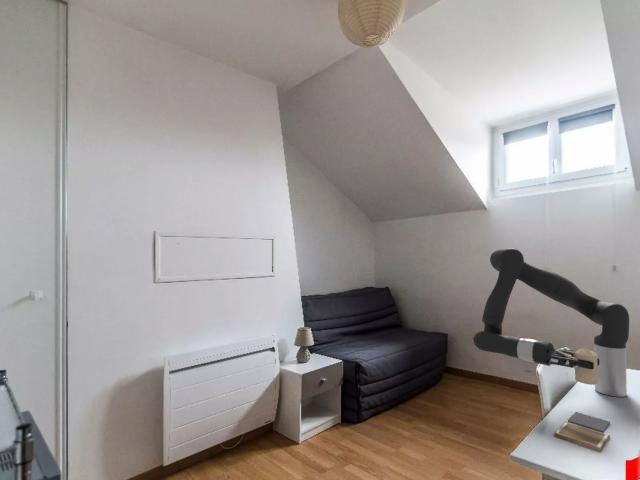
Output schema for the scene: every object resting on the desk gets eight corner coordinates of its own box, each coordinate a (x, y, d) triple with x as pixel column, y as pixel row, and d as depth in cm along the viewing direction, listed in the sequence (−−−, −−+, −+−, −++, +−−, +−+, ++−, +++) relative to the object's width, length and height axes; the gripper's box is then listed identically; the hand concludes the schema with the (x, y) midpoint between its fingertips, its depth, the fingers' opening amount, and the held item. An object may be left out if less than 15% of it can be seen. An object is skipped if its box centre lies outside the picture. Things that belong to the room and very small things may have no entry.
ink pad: (575, 413, 115) (575, 411, 115) (609, 423, 109) (609, 421, 109) (567, 422, 109) (567, 420, 109) (602, 433, 103) (602, 430, 103)
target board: (565, 424, 108) (565, 420, 108) (609, 438, 100) (609, 434, 100) (554, 436, 100) (554, 432, 100) (600, 452, 93) (600, 448, 93)
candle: (601, 385, 108) (601, 352, 108) (580, 383, 109) (580, 350, 109) (591, 379, 113) (591, 347, 113) (571, 377, 114) (572, 346, 115)
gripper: (527, 343, 118) (590, 355, 105) (542, 337, 127) (602, 347, 114) (526, 366, 117) (590, 381, 104) (542, 358, 127) (602, 371, 114)
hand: (596, 363), depth 109 cm, fingers closed on candle, 5 cm apart
